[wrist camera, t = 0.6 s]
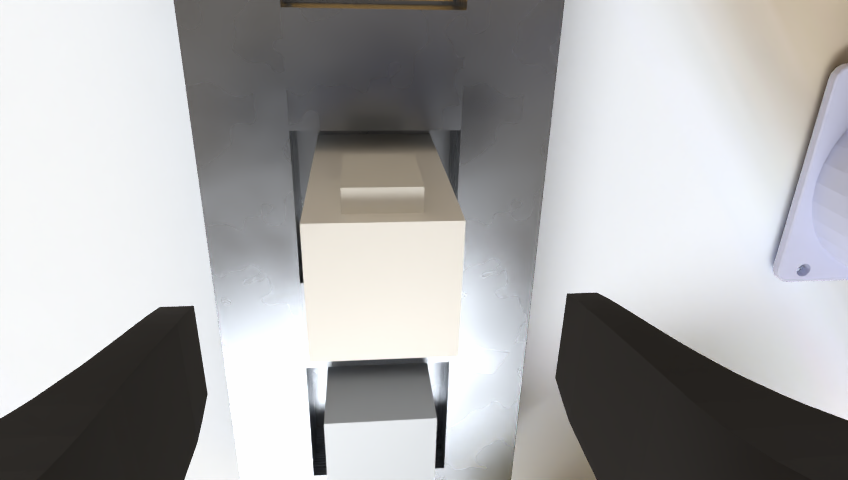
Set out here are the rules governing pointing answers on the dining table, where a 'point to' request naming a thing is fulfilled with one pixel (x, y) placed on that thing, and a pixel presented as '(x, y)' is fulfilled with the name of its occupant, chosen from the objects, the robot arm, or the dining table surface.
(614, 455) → the robot arm
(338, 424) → the white cube
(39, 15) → the dining table surface
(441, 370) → the grey slotted board
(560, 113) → the dining table surface
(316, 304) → the plug
